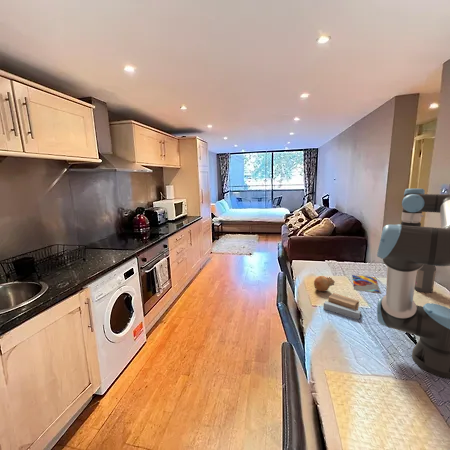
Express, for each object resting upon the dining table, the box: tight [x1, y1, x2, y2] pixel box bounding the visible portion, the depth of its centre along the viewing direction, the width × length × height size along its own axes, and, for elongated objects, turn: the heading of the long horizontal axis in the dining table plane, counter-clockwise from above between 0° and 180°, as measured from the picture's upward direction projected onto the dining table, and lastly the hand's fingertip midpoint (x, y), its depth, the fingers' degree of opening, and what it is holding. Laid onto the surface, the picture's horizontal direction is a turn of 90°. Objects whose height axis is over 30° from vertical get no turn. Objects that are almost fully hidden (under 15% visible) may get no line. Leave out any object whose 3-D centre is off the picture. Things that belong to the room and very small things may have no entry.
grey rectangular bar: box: [323, 300, 361, 320], centre depth 136 cm, size 3×18×4 cm, turn 50°
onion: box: [313, 275, 331, 293], centre depth 162 cm, size 10×10×10 cm
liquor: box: [414, 264, 437, 294], centre depth 156 cm, size 9×9×30 cm
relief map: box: [351, 274, 382, 294], centre depth 170 cm, size 25×15×2 cm, turn 156°
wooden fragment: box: [326, 276, 335, 288], centre depth 173 cm, size 26×11×1 cm, turn 136°
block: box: [327, 292, 360, 311], centre depth 140 cm, size 7×14×6 cm, turn 43°
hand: (405, 268), depth 120 cm, fingers closed
